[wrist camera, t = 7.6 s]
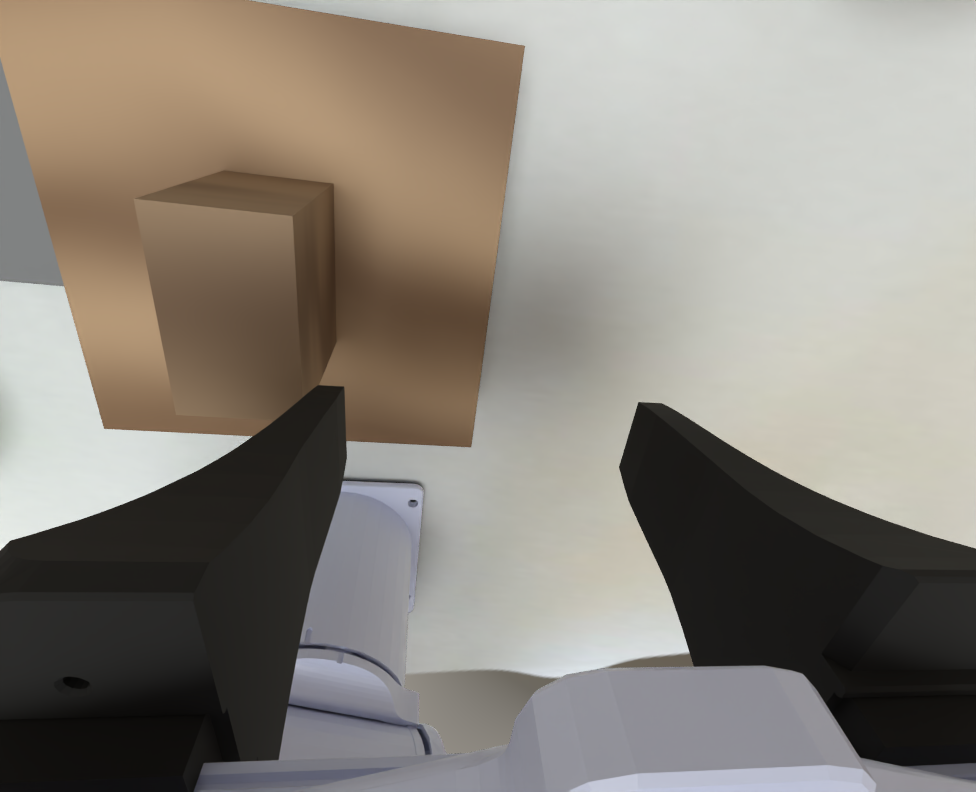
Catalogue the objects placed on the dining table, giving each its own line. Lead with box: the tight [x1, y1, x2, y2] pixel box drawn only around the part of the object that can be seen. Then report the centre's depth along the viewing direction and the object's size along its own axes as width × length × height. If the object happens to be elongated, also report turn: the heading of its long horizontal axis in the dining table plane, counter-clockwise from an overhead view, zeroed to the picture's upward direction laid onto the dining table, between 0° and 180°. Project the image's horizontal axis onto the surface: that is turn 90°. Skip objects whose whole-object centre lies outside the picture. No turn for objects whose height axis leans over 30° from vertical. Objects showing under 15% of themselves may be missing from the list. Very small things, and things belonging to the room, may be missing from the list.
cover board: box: [0, 0, 525, 447], centre depth 14 cm, size 13×13×6 cm
